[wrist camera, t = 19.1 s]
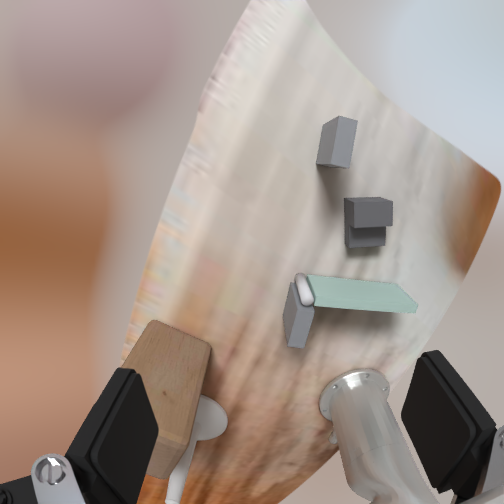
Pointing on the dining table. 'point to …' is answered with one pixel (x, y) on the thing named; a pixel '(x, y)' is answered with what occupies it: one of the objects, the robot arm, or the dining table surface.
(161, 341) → the wooden block
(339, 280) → the door
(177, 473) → the candlestick
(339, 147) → the door frame
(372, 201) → the dark grey stepped block
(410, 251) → the dining table surface
